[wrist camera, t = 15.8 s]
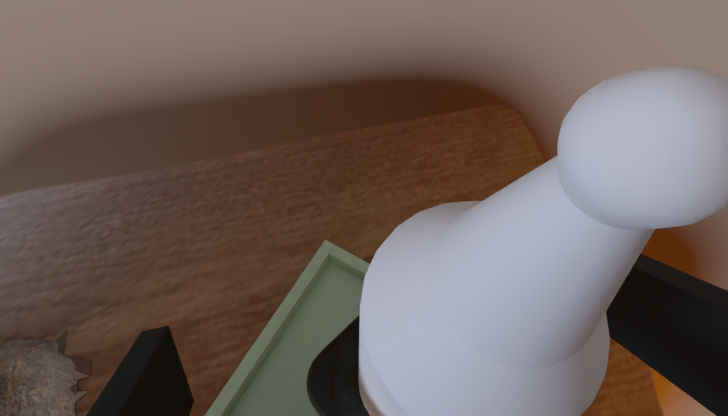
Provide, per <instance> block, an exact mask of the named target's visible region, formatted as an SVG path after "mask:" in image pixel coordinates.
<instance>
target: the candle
mask: <svg viewBox="0 0 728 416" xmlns="http://www.w3.org/2000/svg"><path fill="white" fill-rule="evenodd" d="M557 151H558V155H557V156H556V157H554V158H552V159H551V160H549V161H547V162H546V163H544V164H542V165H541V166H539V167H537V168H536V169H534V170H532V171H531V172H529V173H528V174H526V175H524V176H523V177H521V178H519V179H518V180H516V181H514V182H513V183H511V184H509V185H508V186H506V187H505V188H503V189H501V190H500V191H498V192H496V193H495V194H493V195H491V196H490V197H488V198H486V199H485V200H483V201H465V202H453V203H444V204H441V205H438V206H435V207H432V208H429V209H426V210H423V211H420V212H418V213H417V214H415V215H414V216H412V217H411V218H409V219H408V220H406V221H405V222H403V223H402V224H400V225H399V226H397V227H396V229H395V230H394V231H393V232H392V233H391V234H390V236H389V237H388V238H387V239H386V240H385V241H384V243H383V244H382V245H381V246H380V247H379V249H378V250H377V251H376V253H375V255H374V257H373V260H372V262H371V264H370V266H369V268H368V270H367V273H366V275H365V277H364V284H363V290H362V296H361V302H360V315H359V316H358V317H356V318H355V319H354V320H353V321H352V322H351V323H350V324H349V325H348V326H347V327H346V328H345V329H344V330H343V331H342V332H341V333H340V334H339V335H338V336H337V337H335V338H334V339H333V340H332V341H331V342H330V343H329V344H328V345H327V346H326V347H325V348H324V349H323V350H322V351H321V352H320V353H319V354H318V355H317V356H316V358H315V359H314V360H313V362H312V364H311V366H310V368H309V371H308V376H307V393H308V397H309V400H310V402H311V404H312V406H313V407H314V409H315V411H316V412H317V413H318V414H319V416H581V415H582V413H583V412H584V411H585V410H586V409H587V408H588V407H589V406H590V405H591V404H592V403H593V401H594V399H595V397H596V394H597V392H598V390H599V388H600V386H601V383H602V381H603V379H604V377H605V375H606V371H607V363H608V354H609V346H610V336H609V329H608V323H607V316H606V311H607V309H608V307H609V306H610V304H611V302H612V301H613V299H614V297H615V296H616V294H617V292H618V290H619V289H620V287H621V285H622V284H623V282H624V280H625V279H626V277H627V275H628V274H629V272H630V270H631V269H632V267H633V265H634V264H635V262H636V260H637V259H638V257H639V255H640V254H641V252H642V250H643V249H644V247H645V245H646V244H647V242H648V240H649V239H650V237H651V235H652V234H653V232H654V230H655V229H658V228H669V227H678V226H683V225H689V224H694V223H696V222H699V221H701V220H703V219H706V218H708V217H711V216H713V215H714V214H716V213H717V212H719V211H721V210H722V209H724V208H726V207H727V206H728V80H726V79H724V78H723V77H721V76H720V75H717V74H715V73H713V72H710V71H708V70H704V69H701V68H697V67H689V66H679V65H667V66H657V67H652V68H646V69H640V70H636V71H633V72H629V73H625V74H622V75H619V76H615V77H612V78H609V79H605V80H604V81H602V82H601V83H599V84H598V85H596V86H595V87H593V88H592V89H590V90H589V91H587V92H586V93H585V94H583V95H582V96H580V97H579V98H578V100H577V101H576V102H575V104H574V105H573V107H572V108H571V109H570V111H569V112H568V114H567V115H566V116H565V118H564V119H563V121H562V125H561V130H560V133H559V139H558V145H557Z"/></svg>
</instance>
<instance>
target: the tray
mask: <svg viewBox="0 0 728 416" xmlns="http://www.w3.org/2000/svg"><path fill="white" fill-rule="evenodd" d="M369 266H370V264H369V263H368V262H366V261H364V260H362V259H360V258H358V257H357V256H355V255H353V254H351V253H349V252H347V251H345V250H344V249H342V248H340V247H338V246H336V245H334V244H333V243H331V242H329V241H327V240H324V242H323V243H322V245H321V246H320V248H319V249H318V251H317V252H316V254H315V255H314V257H313V258H312V259H311V261H310V262H309V264H308V265H307V267H306V268H305V270H304V271H303V273H302V274H301V275H300V277H299V278H298V280H297V281H296V283H295V284H294V286H293V287H292V289H291V290H290V291H289V293H288V294H287V296H286V297H285V299H284V300H283V302H282V303H281V305H280V306H279V307H278V309H277V310H276V312H275V313H274V315H273V316H272V318H271V319H270V321H269V322H268V324H267V325H266V326H265V328H264V329H263V331H262V332H261V334H260V335H259V337H258V338H257V340H256V341H255V342H254V344H253V345H252V347H251V348H250V350H249V351H248V353H247V354H246V356H245V357H244V358H243V360H242V361H241V363H240V364H239V366H238V367H237V369H236V370H235V372H234V373H233V375H232V376H231V377H230V379H229V380H228V382H227V383H226V385H225V386H224V388H223V389H222V391H221V392H220V393H219V395H218V396H217V398H216V399H215V401H214V402H213V404H212V405H211V407H210V408H209V409H208V411H207V412H206V414H205V415H204V416H319V414H318V413H317V412H316V411H315V409H314V407H313V406H312V404H311V402H310V400H309V397H308V393H307V376H308V371H309V368H310V366H311V364H312V362H313V360H314V359H315V358H316V356H317V355H318V354H319V353H320V352H321V351H322V350H323V349H324V348H325V347H326V346H327V345H328V344H329V343H330V342H331V341H332V340H333V339H334V338H335V337H337V336H338V335H339V334H340V333H341V332H342V331H343V330H344V329H345V328H346V327H347V326H348V325H349V324H350V323H351V322H352V321H353V320H354V319H355V318H356V317H358V316H359V315H360V302H361V296H362V290H363V284H364V277H365V275H366V273H367V270H368V268H369Z"/></svg>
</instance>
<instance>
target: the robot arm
mask: <svg viewBox="0 0 728 416" xmlns="http://www.w3.org/2000/svg"><path fill="white" fill-rule="evenodd" d="M606 316H607V323H608V329H609V336H610V337H611V338H612V339H613V340H615V341H616V342H618V343H619V344H620V345H622V346H623V347H624V348H626V349H627V350H628V351H630V352H631V353H632V354H634V355H635V356H637V357H638V358H639V359H641V360H642V361H643V362H645V363H646V364H647V365H649V366H650V367H651V368H653V369H654V370H656V371H657V372H658V373H660V374H661V375H662V376H664V377H665V378H667V379H668V380H669V381H670V382H672V383H673V384H674V385H676V386H677V387H678V388H680V389H681V390H683V391H684V392H685V393H687V394H688V395H689V396H691V397H692V398H694V399H695V400H696V401H698V402H699V403H700V404H702V405H703V406H704V407H706V408H707V409H708V410H710V411H711V412H713V413H714V414H715V415H716V416H728V290H725V289H722V288H719V287H716V286H714V285H712V284H710V283H707V282H705V281H703V280H701V279H698V278H695V277H694V276H691V275H689V274H687V273H684V272H682V271H680V270H678V269H675V268H673V267H670V266H668V265H666V264H664V263H661V262H659V261H657V260H654V259H652V258H650V257H647V256H645V255H643V254H640V255H639V257H638V259H637V260H636V262H635V264H634V265H633V267H632V269H631V270H630V272H629V274H628V275H627V277H626V279H625V280H624V282H623V284H622V285H621V287H620V289H619V290H618V292H617V294H616V296H615V297H614V299H613V301H612V302H611V304H610V306H609V307H608V309H607V311H606ZM193 402H194V399H193V396H192V393H191V390H190V387H189V384H188V381H187V378H186V375H185V372H184V370H183V367H182V364H181V361H180V358H179V355H178V352H177V349H176V346H175V343H174V340H173V337H172V334H171V331H170V329H169V326H165V327H160V328H156V329H151V330H147V331H142V332H141V333H140V335H139V336H138V338H137V339H136V341H135V342H134V344H133V346H132V347H131V349H130V350H129V352H128V353H127V355H126V356H125V358H124V359H123V361H122V362H121V364H120V365H119V367H118V368H117V370H116V371H115V373H114V374H113V376H112V377H111V379H110V380H109V382H108V383H107V385H106V387H105V388H104V390H103V391H102V393H101V394H100V396H99V397H98V399H97V400H96V402H95V403H94V405H93V406H92V408H91V409H90V411H89V412H88V414H87V415H86V416H189V414H190V411H191V408H192V405H193Z"/></svg>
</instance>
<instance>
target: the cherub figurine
mask: <svg viewBox="0 0 728 416" xmlns="http://www.w3.org/2000/svg"><path fill="white" fill-rule="evenodd" d="M65 335H66V330H65V332H64V333H63V334H62V335H61V336H60V338H59V339H58V340H57V341H56V342H50V341H41V340H37V337H35V338H34V339H33V340H30V341H29V340H25V339H21V340H13V341H7V342H0V416H76V414H75V410H74V409H75V403H76V401H77V400H78V399H79V398H81V397H82V396H83V395H84V394H86V393H87V392H88V391H78V392H77V390H78V389H77V385H78V384H77V380H78V379H81V378H85V377H88V376H90V367H91V362H90V361H87V360H83V359H79V358H75V357H71V356H67V355H64V354H63V351H64V343H65ZM30 338H32V337H30ZM26 339H28V338H26Z"/></svg>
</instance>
